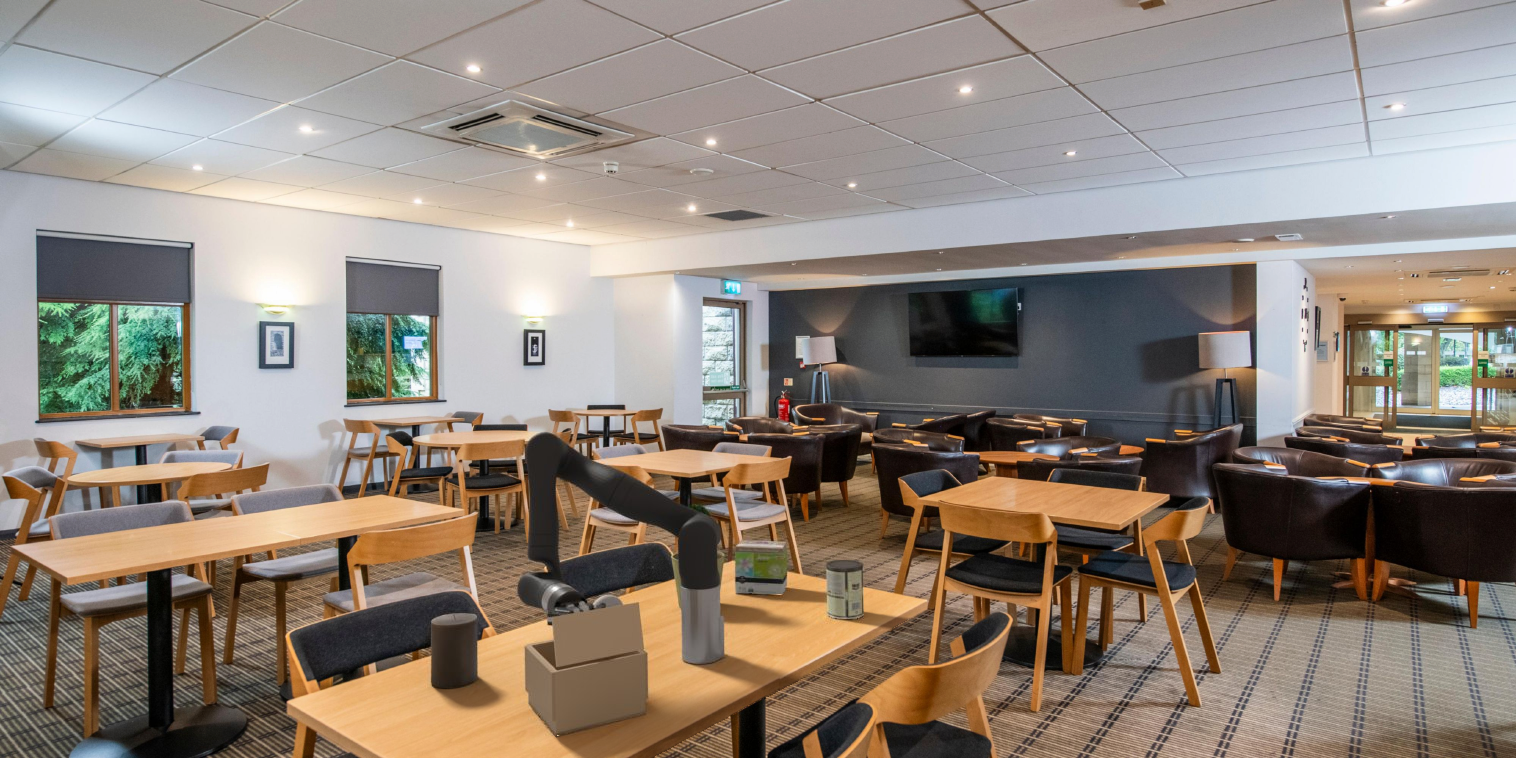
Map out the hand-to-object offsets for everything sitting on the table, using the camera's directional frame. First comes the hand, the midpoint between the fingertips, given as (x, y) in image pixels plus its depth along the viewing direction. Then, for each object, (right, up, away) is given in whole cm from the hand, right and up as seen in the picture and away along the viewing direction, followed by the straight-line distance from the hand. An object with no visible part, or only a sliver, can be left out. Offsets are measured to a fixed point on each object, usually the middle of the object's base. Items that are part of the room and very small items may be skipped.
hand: (591, 624), depth 157 cm
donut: (-7, -18, +51) cm, 55 cm away
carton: (-2, -18, +4) cm, 19 cm away
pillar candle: (-34, -19, +20) cm, 44 cm away
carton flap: (+2, -1, -3) cm, 4 cm away
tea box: (+34, -18, +91) cm, 98 cm away
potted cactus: (+15, -18, +74) cm, 78 cm away
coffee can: (+57, -17, +65) cm, 88 cm away
